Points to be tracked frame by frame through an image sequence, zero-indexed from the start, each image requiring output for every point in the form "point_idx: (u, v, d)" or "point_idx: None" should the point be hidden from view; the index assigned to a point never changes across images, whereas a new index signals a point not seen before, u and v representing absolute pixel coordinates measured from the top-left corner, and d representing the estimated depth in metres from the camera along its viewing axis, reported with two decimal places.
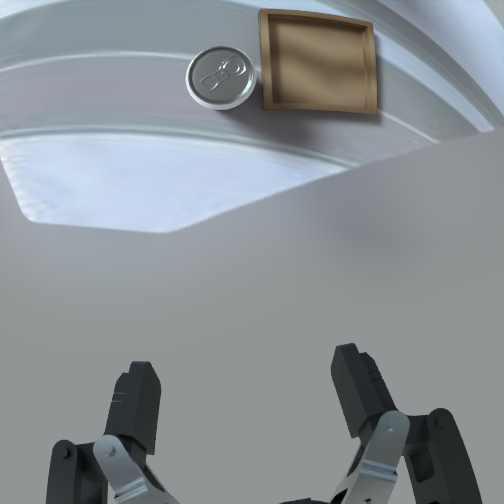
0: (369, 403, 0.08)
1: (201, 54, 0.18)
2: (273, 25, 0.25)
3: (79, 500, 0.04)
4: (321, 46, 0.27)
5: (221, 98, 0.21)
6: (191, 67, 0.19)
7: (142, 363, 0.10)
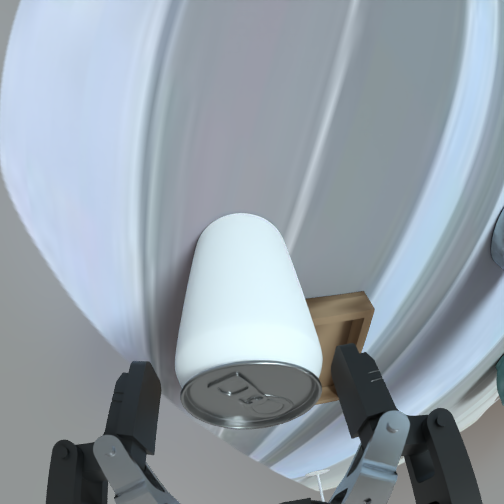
0: (369, 403, 0.08)
1: None
2: None
3: (79, 500, 0.04)
4: None
5: (197, 398, 0.10)
6: None
7: (142, 363, 0.10)
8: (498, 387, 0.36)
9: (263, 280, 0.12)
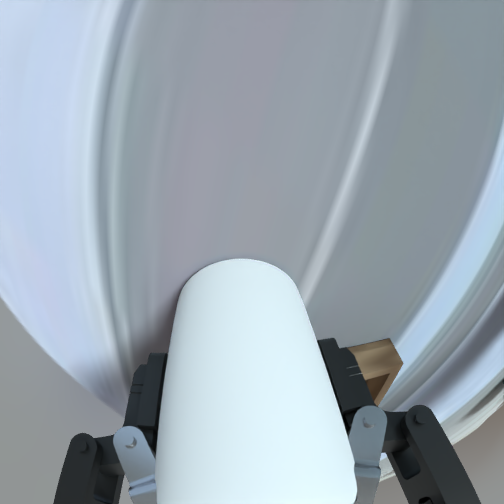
0: (346, 397, 0.08)
1: None
2: None
3: (91, 495, 0.05)
4: None
5: None
6: None
7: (161, 354, 0.10)
8: None
9: (283, 411, 0.06)
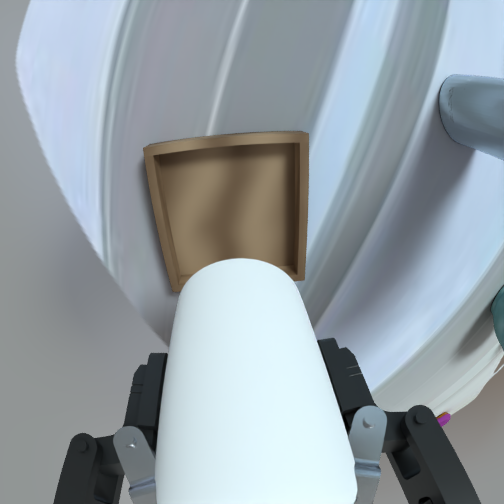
0: (346, 397, 0.08)
1: None
2: (282, 150, 0.24)
3: (91, 495, 0.05)
4: (255, 214, 0.27)
5: None
6: None
7: (161, 354, 0.10)
8: (496, 330, 0.37)
9: (283, 410, 0.06)
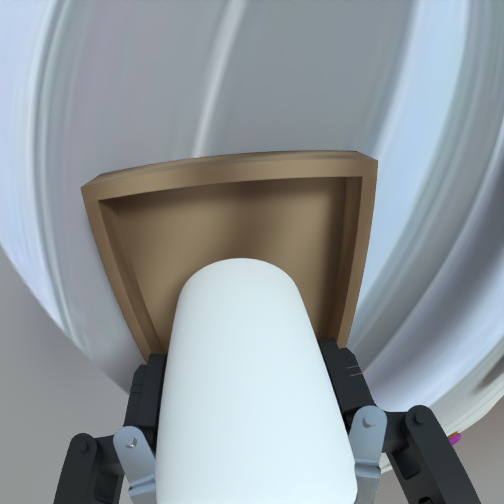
0: (346, 397, 0.08)
1: None
2: (326, 185, 0.14)
3: (91, 495, 0.05)
4: None
5: None
6: None
7: (161, 354, 0.10)
8: None
9: (283, 410, 0.06)
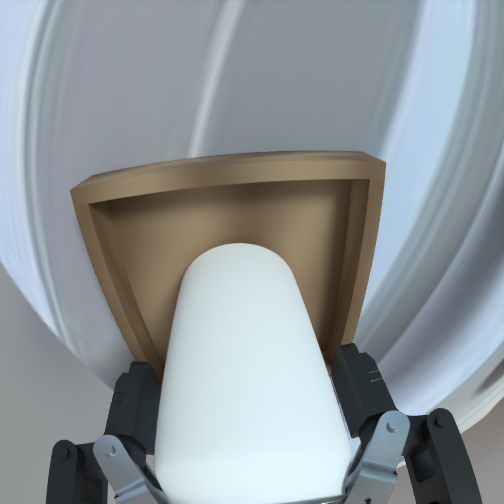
0: (369, 403, 0.08)
1: (336, 496, 0.05)
2: (330, 187, 0.13)
3: (79, 500, 0.04)
4: None
5: None
6: (296, 502, 0.04)
7: (142, 363, 0.10)
8: None
9: (274, 369, 0.07)
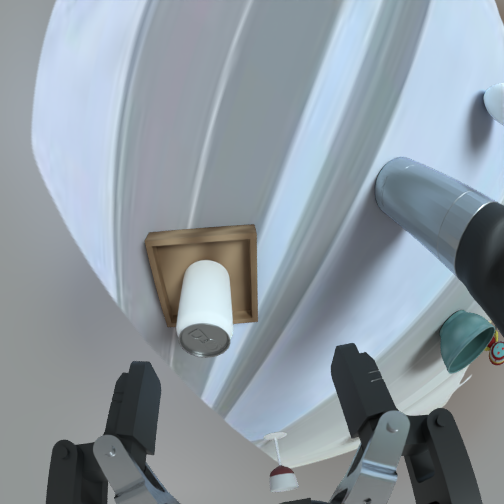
0: (369, 403, 0.08)
1: (222, 330, 0.28)
2: (240, 239, 0.36)
3: (79, 500, 0.04)
4: None
5: (184, 340, 0.28)
6: (210, 324, 0.27)
7: (142, 363, 0.10)
8: (441, 354, 0.51)
9: (209, 295, 0.30)
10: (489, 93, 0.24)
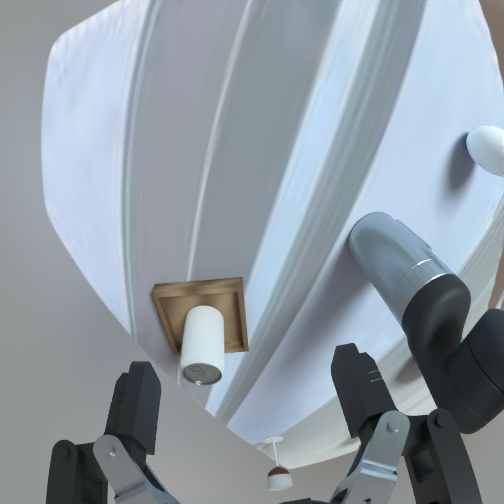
0: (369, 403, 0.08)
1: (215, 367, 0.35)
2: None
3: (79, 500, 0.04)
4: None
5: (186, 373, 0.35)
6: (205, 363, 0.34)
7: (142, 363, 0.10)
8: None
9: (205, 339, 0.37)
10: (470, 138, 0.30)
